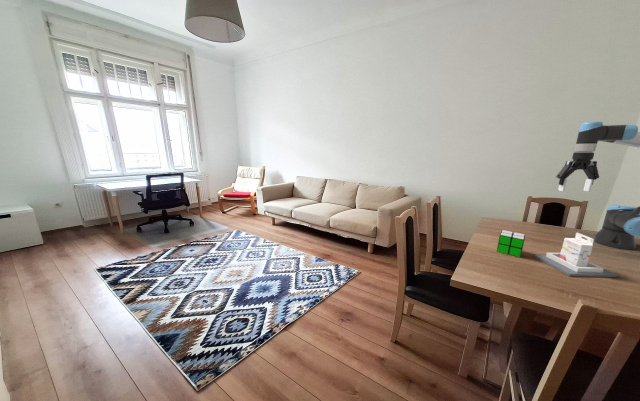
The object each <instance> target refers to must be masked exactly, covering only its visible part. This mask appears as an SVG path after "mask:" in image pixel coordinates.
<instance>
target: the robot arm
mask: <svg viewBox="0 0 640 401" xmlns="http://www.w3.org/2000/svg"><path fill="white" fill-rule="evenodd" d="M598 142H604V143H610V144H617V145H623V146H627V147H633V148H637V149H639V148H640V131H639V128H638V125H636V124H614V125H609V124H608V125H605V124H604V122H603V121H585V122H582V123H581V124H580V127H579V130H578V134H577V138H576V143H575V145H574V150H573V151H574V152H573V154H572V157H571V159H572V160H567V161H565V164H564V166H562V168H561V170H559V172H558V174H556V175H555V177H556V178H557V179H559V182H558V188H557V190H558V191H560V192H565V189H566V186H567V182H568V179H567V178H569V176H571V175H572V174H573V173H574V172H575V171H578V170H581V171H583V172H584V173H585V176H586V177H587V178H586V179H585V183H584V187H583V191H584V192H591V189H592V186H593V185H594V181H596V180H598V179H599V178H600V175H599V170H598V166H597V164H598V161H595V160H594V156H595V152H596V149H597V145H598ZM636 237H638V238H640V205H639V206H638V207H637V206H627V205H617V204H612V205H609V206H608V208H607V210H606V213H605V216H604V220H603V222H602V226H601V229H599V231H598V232H597V233H596V234H595V235H594V237H593V239H594V242H596V243H597V244H601V245H603V246H606V247H612V248H616V249H621V250H635V249H636V246H637V244H636Z"/></svg>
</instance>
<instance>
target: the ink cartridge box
mask: <svg viewBox="0 0 640 401" xmlns="http://www.w3.org/2000/svg"><path fill="white" fill-rule="evenodd" d="M594 242H595V241H594V237H593V238H592V237H589V236H588V235H584V234H583V233H580V232H575V237H564V239H563V242H562V246H561V247H562V248H561V250H560V252H559V253H560V257H559V258H561V259H563V260H565V261H567V262H569V263H571V264H573V265H575V266H577V267H587V264H588V262H589V260H590V257H591V253H592V251H593V247H594Z"/></svg>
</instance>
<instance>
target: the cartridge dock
mask: <svg viewBox="0 0 640 401" xmlns="http://www.w3.org/2000/svg"><path fill="white" fill-rule="evenodd" d="M560 253H561V252H546V254H533V257H534V258H535V259H537V260H539V261H540V262H542V263H544V264H546V265H548V266H550V267H552V268H553V269H555V270H557V271H559V272H561V273H562V274H564V275H567V277H586V278H587V277H590V278H591V277H593V278H594V277H596V278H597V277H598V278H599V277H601V278H617V277H618V274H617V273H615V272H612V271H609V270H608V269H605V268H603V267H601V266H599V265H598V264H595V263H592V262H590V261H588V264H587V267H577V266H575V265H573V264H571V263H569V262H567V261H565V260H563V259H561V258H559V257H560Z"/></svg>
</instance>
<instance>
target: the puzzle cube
mask: <svg viewBox="0 0 640 401" xmlns="http://www.w3.org/2000/svg"><path fill="white" fill-rule="evenodd" d="M525 238H526V234H525V233H519V232H516V231H514V232H513V231H509V230H505V229H502V230H501V231H500V234H499V238H498V242H497V248H496V252H497V253H501V254H506V255H510V256H513V257H518V258H521V257H522V254H523V253H522V252H523V248H524V245H525V244H524V243H525V240H526V239H525Z"/></svg>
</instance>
